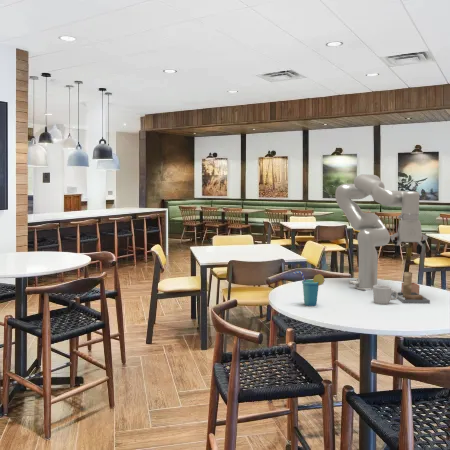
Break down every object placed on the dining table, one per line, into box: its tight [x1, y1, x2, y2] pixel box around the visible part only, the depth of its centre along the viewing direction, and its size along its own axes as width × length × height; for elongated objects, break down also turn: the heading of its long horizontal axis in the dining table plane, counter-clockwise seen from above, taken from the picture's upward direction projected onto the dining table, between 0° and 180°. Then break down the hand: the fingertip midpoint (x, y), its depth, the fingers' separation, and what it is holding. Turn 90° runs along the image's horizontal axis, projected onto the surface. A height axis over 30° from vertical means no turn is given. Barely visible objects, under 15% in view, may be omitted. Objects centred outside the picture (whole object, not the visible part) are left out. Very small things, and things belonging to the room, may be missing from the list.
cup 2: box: [372, 284, 399, 305], centre depth 210 cm, size 11×8×8 cm
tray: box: [391, 291, 431, 305], centre depth 218 cm, size 12×16×2 cm
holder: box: [401, 281, 420, 294], centre depth 230 cm, size 6×6×6 cm
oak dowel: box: [402, 271, 413, 299], centre depth 221 cm, size 4×4×12 cm
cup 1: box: [292, 270, 325, 307], centre depth 209 cm, size 14×8×15 cm, turn 78°
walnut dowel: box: [404, 294, 424, 300], centre depth 213 cm, size 7×3×3 cm, turn 90°
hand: (408, 253), depth 220 cm, fingers open, 9 cm apart
